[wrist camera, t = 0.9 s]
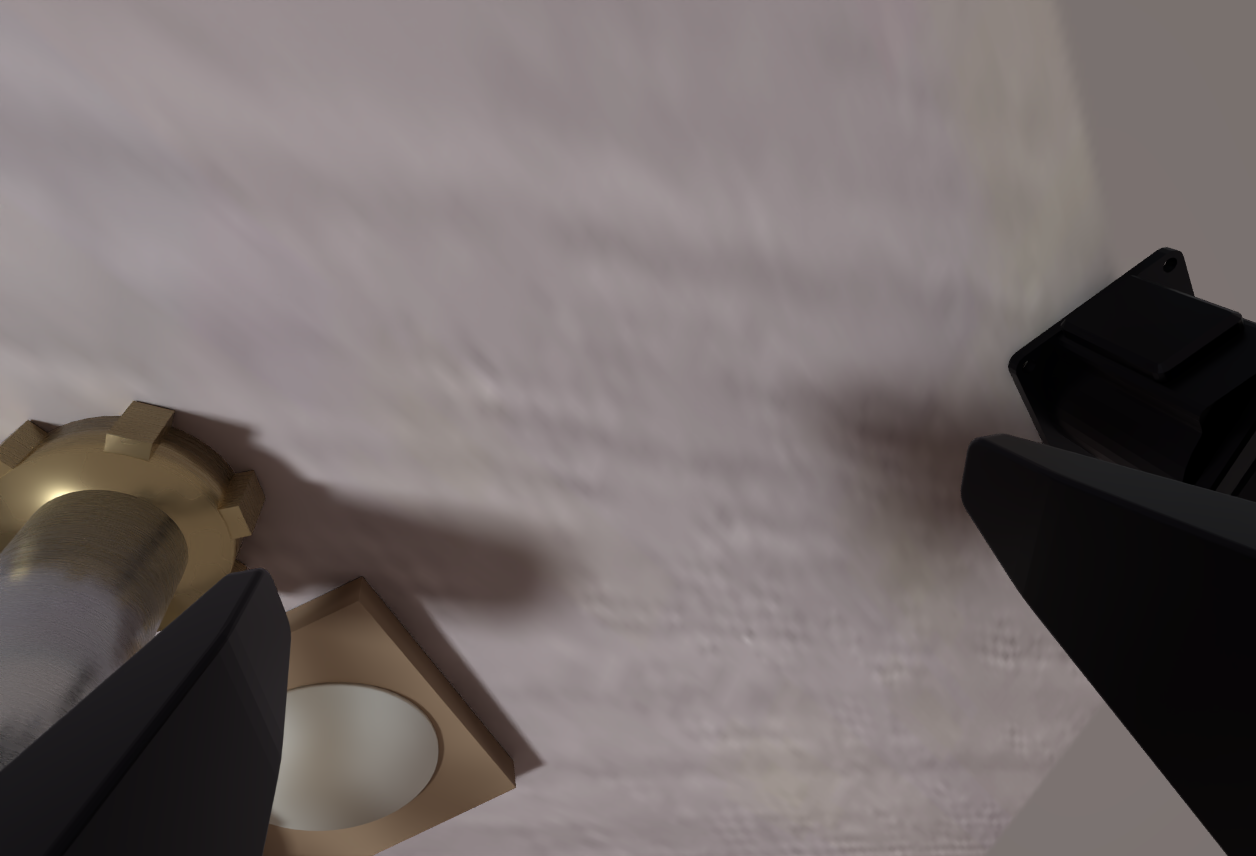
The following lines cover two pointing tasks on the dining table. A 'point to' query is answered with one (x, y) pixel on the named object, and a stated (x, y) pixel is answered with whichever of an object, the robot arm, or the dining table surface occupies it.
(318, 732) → the gear board
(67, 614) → the pinion
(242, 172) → the dining table surface
